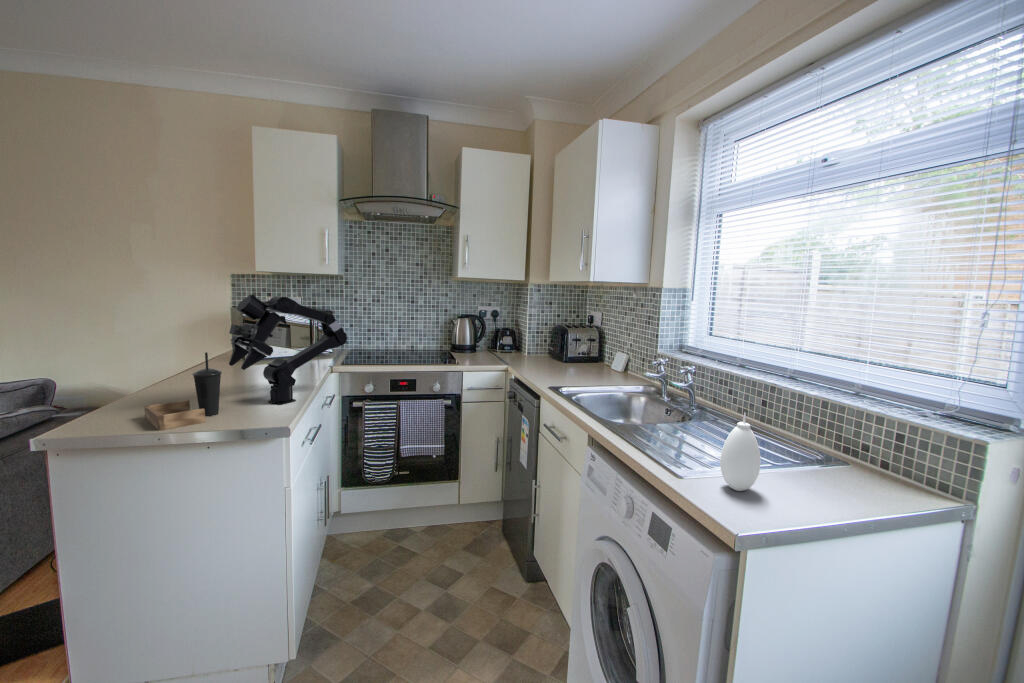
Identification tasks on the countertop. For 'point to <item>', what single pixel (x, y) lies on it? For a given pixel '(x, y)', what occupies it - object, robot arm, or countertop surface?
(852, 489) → the countertop surface
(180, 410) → the wooden tray
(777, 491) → the countertop surface
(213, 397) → the drinking cup
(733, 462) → the sauce bottle
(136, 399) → the countertop surface
